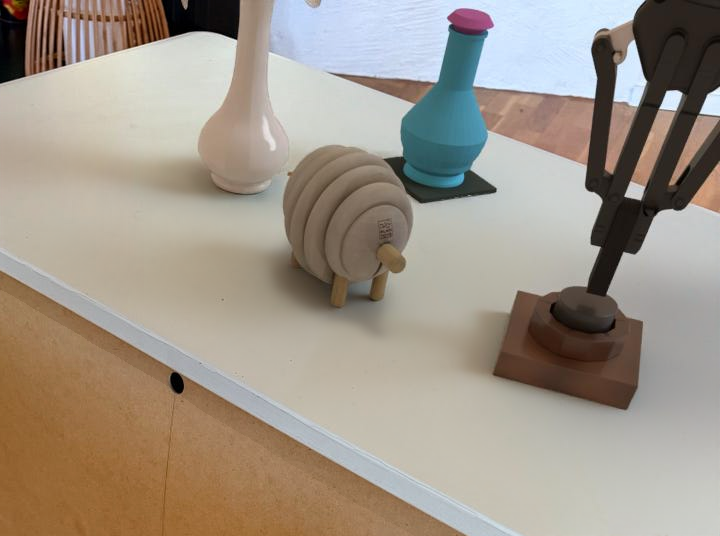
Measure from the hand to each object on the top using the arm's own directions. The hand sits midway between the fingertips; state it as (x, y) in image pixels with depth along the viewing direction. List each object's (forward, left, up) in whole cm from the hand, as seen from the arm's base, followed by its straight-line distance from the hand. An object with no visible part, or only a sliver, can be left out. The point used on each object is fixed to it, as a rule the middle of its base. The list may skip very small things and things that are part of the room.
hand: (596, 286), depth 73 cm
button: (0, 0, -3) cm, 3 cm away
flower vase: (+38, +12, -7) cm, 41 cm away
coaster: (+34, -10, -7) cm, 36 cm away
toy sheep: (+17, +13, -7) cm, 23 cm away
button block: (0, 0, -7) cm, 7 cm away
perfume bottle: (+34, -10, -6) cm, 36 cm away
